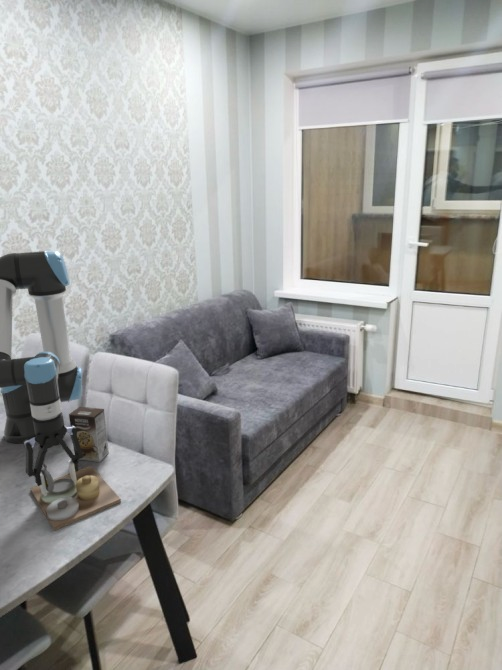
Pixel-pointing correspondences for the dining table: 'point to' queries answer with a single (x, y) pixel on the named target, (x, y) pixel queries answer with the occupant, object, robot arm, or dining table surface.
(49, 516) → the tray
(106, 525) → the dining table surface
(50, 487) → the pocket watch
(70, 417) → the coffee box
